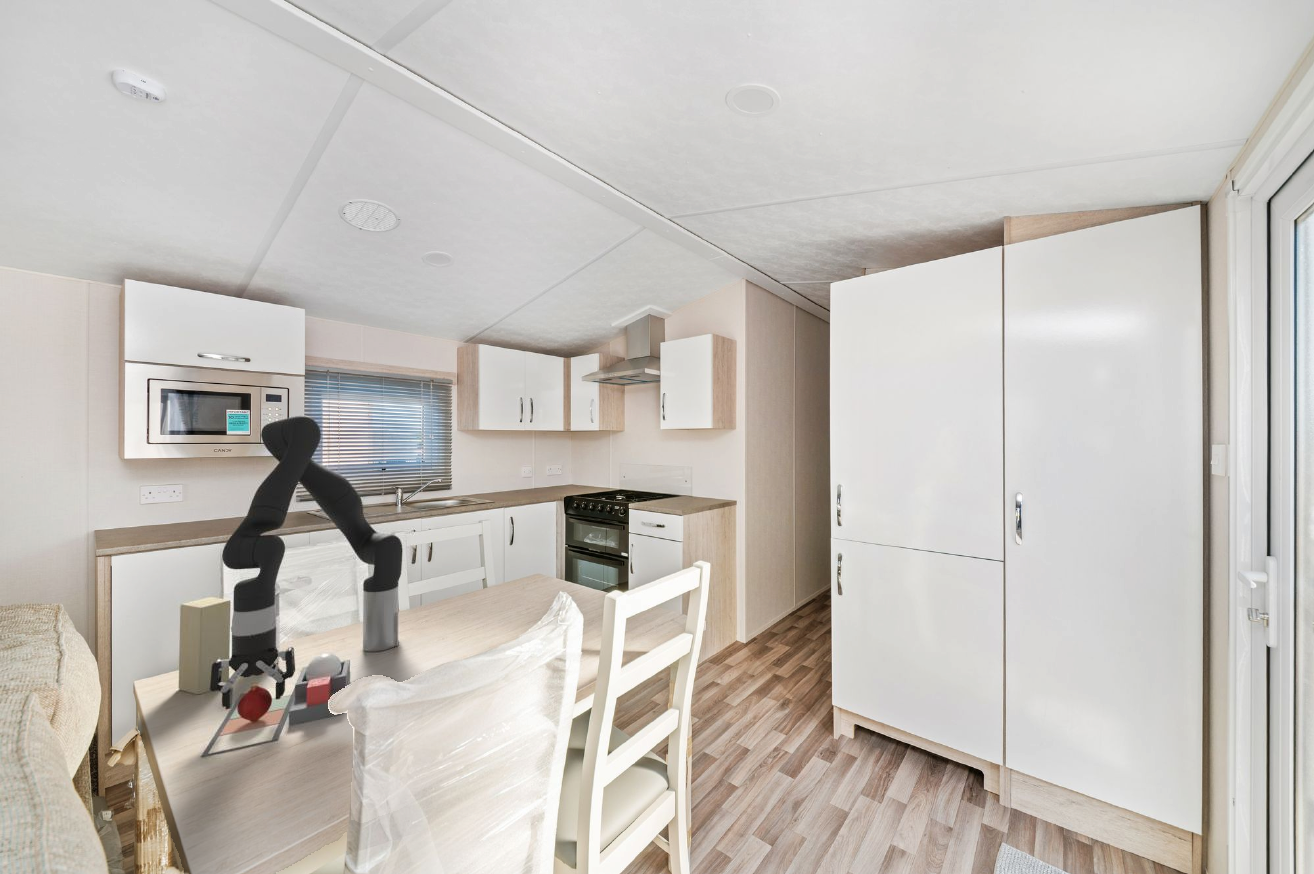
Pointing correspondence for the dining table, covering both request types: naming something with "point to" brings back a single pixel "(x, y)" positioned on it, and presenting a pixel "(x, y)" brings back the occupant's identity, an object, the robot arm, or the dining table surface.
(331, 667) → the white ball
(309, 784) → the dining table surface
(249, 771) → the dining table surface
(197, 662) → the tall beige box
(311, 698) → the red die
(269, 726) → the game mat
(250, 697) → the onion
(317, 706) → the grey open tray
